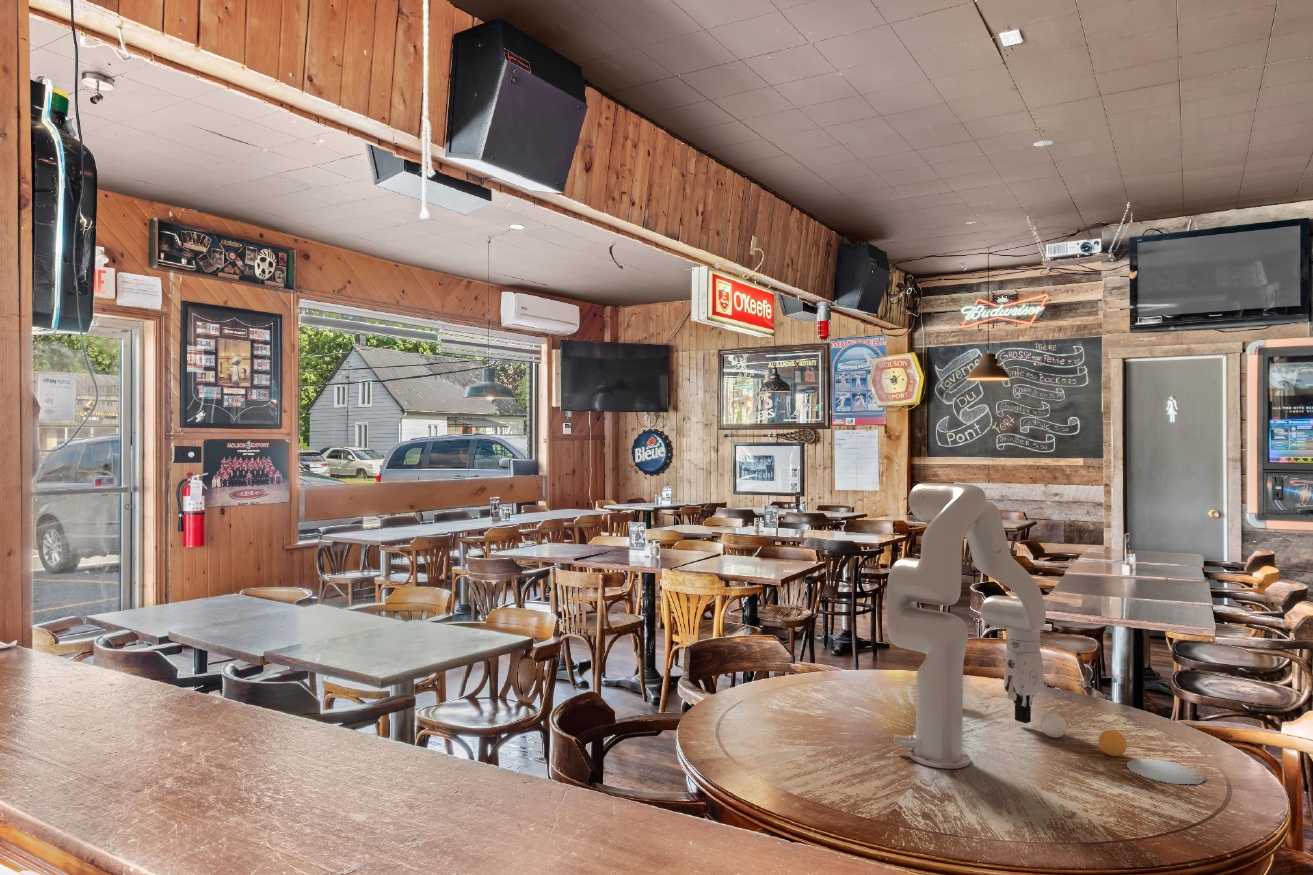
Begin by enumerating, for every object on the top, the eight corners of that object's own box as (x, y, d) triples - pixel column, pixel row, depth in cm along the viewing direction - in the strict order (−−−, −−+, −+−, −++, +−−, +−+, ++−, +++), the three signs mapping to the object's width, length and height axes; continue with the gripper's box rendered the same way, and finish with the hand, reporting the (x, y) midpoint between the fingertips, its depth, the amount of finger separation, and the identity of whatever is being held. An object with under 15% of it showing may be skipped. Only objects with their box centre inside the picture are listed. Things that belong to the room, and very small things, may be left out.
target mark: (1140, 780, 167) (1140, 779, 167) (1117, 756, 181) (1117, 756, 181) (1217, 788, 164) (1217, 787, 164) (1188, 763, 178) (1188, 762, 178)
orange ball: (1102, 758, 180) (1103, 733, 180) (1095, 750, 185) (1095, 725, 185) (1130, 761, 178) (1130, 735, 178) (1122, 752, 184) (1122, 727, 184)
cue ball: (1043, 739, 191) (1043, 715, 192) (1038, 732, 197) (1038, 709, 197) (1069, 741, 190) (1069, 717, 190) (1062, 734, 196) (1063, 711, 196)
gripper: (1019, 652, 194) (1018, 730, 193) (1055, 645, 202) (1054, 720, 201) (990, 645, 200) (990, 721, 199) (1026, 639, 208) (1026, 712, 208)
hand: (1022, 721), depth 200 cm, fingers closed
